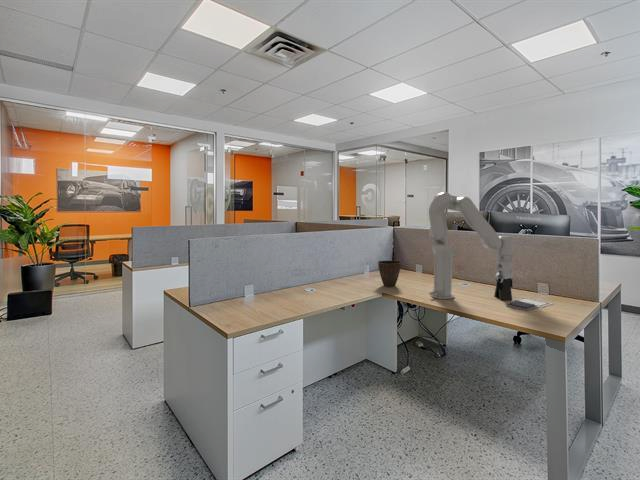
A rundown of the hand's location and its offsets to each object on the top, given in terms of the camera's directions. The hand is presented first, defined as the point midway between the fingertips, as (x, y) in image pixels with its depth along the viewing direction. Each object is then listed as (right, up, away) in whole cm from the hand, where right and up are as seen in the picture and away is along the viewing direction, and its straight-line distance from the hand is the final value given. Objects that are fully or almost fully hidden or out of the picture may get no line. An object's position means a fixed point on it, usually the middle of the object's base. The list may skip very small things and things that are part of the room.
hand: (504, 288), depth 186 cm
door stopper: (-1, -6, +1) cm, 6 cm away
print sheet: (+10, -7, -8) cm, 14 cm away
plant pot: (-58, -4, +35) cm, 68 cm away
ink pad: (0, -7, -16) cm, 17 cm away
